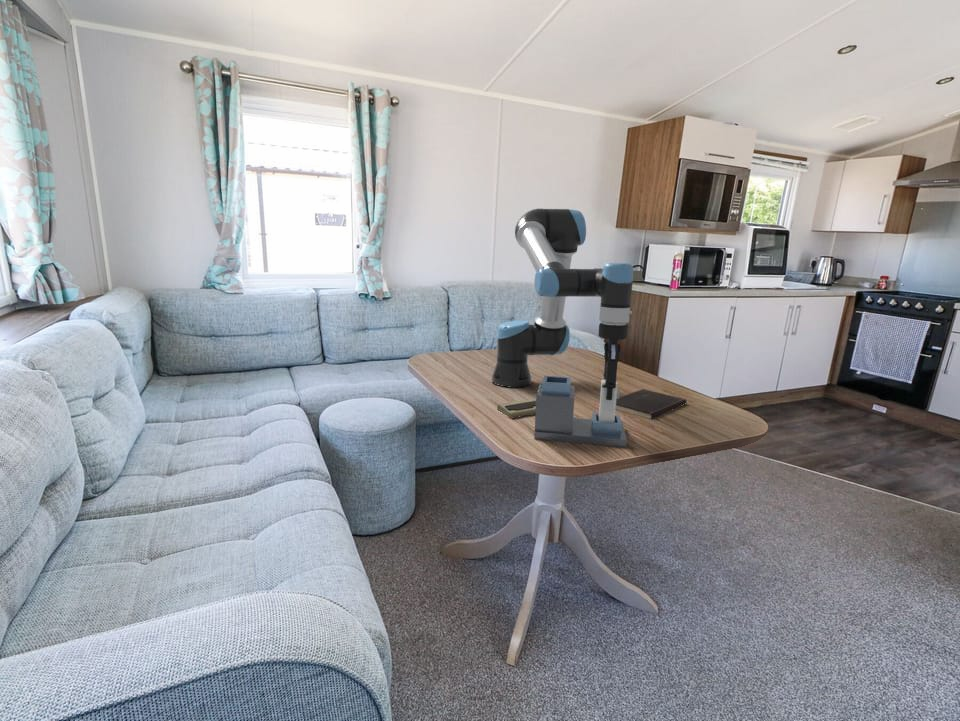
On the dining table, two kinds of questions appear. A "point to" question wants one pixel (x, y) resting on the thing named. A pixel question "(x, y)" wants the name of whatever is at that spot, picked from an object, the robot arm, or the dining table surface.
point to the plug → (603, 415)
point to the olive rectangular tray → (518, 408)
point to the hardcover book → (648, 403)
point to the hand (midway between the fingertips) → (607, 407)
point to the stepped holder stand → (571, 417)
